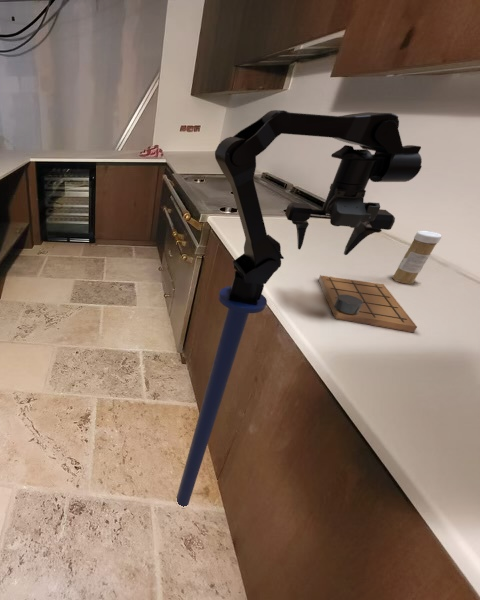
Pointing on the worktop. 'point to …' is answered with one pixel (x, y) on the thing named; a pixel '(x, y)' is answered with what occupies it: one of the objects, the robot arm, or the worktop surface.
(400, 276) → the sprinkles bottle
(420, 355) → the worktop surface
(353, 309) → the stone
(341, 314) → the board
